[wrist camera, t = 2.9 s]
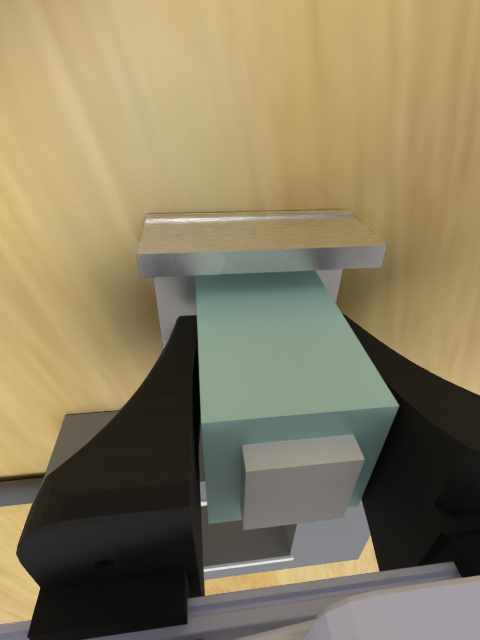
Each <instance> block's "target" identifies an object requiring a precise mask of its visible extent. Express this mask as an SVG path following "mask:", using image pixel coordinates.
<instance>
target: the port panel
mask: <svg viewBox="0 0 480 640" xmlns="http://www.w3.org/2000/svg"><path fill="white" fill-rule="evenodd" d="M118 412H119V411H113V412H100V413H88V414H76V415H65V418H64V421H63V424H62V427H61V430H60V432H59V435H58V438H57V441H56V444H55V447H54V450H53V453H52V456H51V458H50V461H49V464H48V467H47V470H46V473H45V476H44V479H43V482H44V480H45V478H46V476H47V475H49V474H50V473H51V472H53V471H54V470H55V469H56V468H58V467H59V466H60V465H61V464H63V463H64V462H65V461H66V460H68V459H69V458H70V457H71V456H73V455H74V454H75V453H76V452H78V451H79V450H80V449H81V448H82V447H83V446H85V445H86V444H87V443H88V442H89V441H90V440H91V439H92V438H93V437H94V436H95V435H96V434H97V433H98V432H99V431H100V430H101V429H103V428H104V427H105V426H106V425H107V424H108V423H109V422H110V421H111V420H112V419H113V418H114V417H115V415H116V414H117V413H118ZM199 468H200V494H201V519H202V544H203V567H204V580H207V579H214V578H222V577H229V576H237V575H244V574H252V573H259V572H266V571H274V570H281V569H289V568H296V567H304V566H311V565H319V564H326V563H333V562H341V561H348V560H356V559H359V557H360V555H361V553H362V551H363V548H364V546H365V544H366V542H367V540H368V538H369V536H370V530H369V526H368V523H367V519H366V515H365V511H364V508H363V504H362V500H360V503H359V505H358V506H357V507H348V508H346V511H345V513H344V516H343V518H340V519H332V520H324V521H316V522H307V523H299V524H291V525H282V526H274V527H266V528H258V529H249V530H243V525H242V520H238V521H229V522H221V523H212V524H208V511H207V497H206V483H205V469H204V455H203V441H202V427H201V425H200V443H199ZM43 482H42V484H43ZM41 486H42V485H41ZM40 488H41V487H40Z"/></svg>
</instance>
